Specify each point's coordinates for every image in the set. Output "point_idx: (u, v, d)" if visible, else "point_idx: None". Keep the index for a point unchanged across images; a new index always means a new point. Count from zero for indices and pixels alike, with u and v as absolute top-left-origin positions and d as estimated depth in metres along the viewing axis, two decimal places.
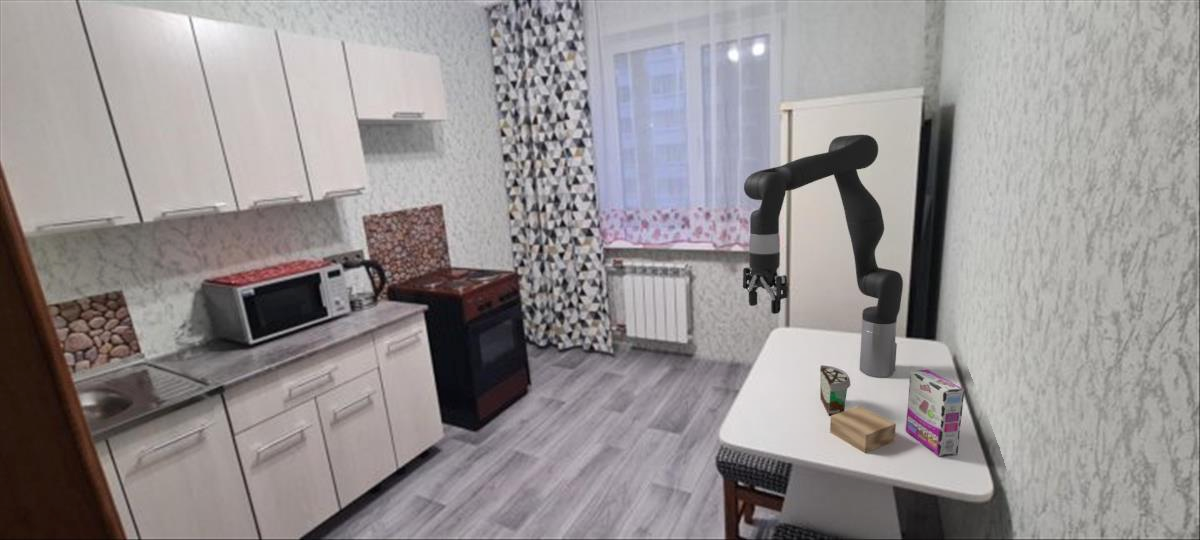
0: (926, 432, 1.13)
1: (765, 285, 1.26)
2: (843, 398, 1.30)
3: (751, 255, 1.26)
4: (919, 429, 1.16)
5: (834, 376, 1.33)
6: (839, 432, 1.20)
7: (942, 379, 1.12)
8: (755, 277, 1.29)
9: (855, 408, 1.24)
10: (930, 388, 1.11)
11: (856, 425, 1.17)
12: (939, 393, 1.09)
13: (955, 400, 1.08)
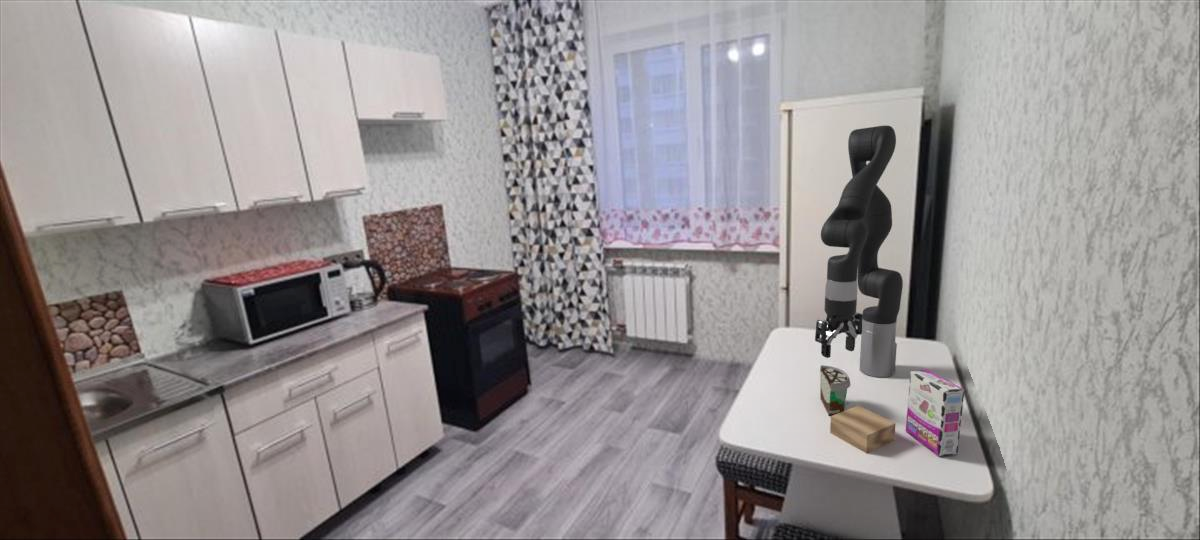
0: (926, 432, 1.13)
1: (851, 327, 1.28)
2: (843, 398, 1.30)
3: (850, 303, 1.24)
4: (919, 429, 1.16)
5: (834, 376, 1.33)
6: (840, 433, 1.20)
7: (942, 379, 1.12)
8: (842, 325, 1.26)
9: (854, 408, 1.24)
10: (930, 388, 1.11)
11: (857, 425, 1.17)
12: (939, 393, 1.09)
13: (955, 400, 1.08)
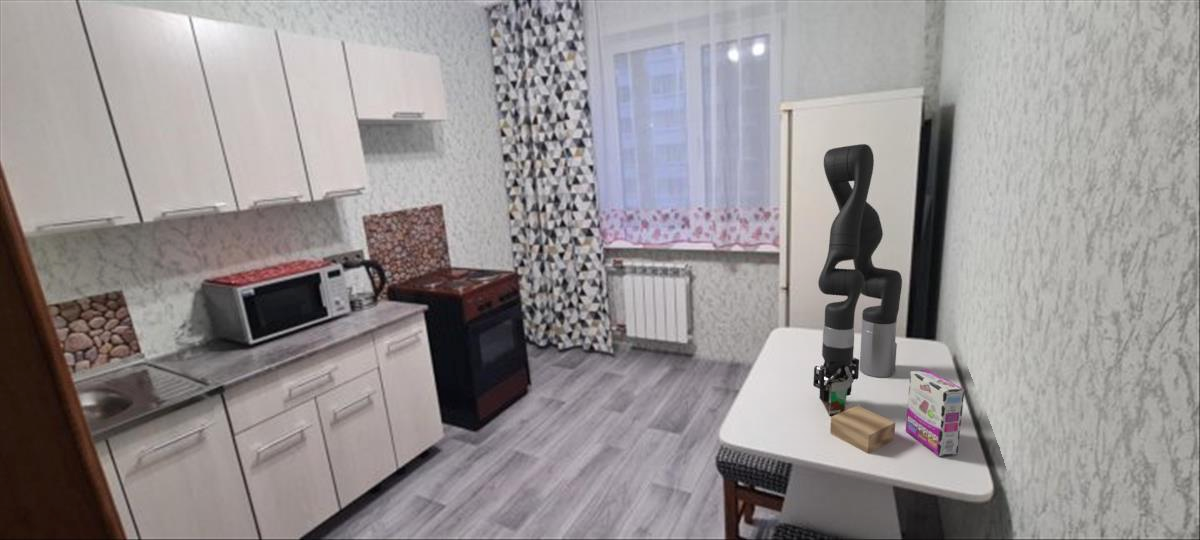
0: (926, 432, 1.13)
1: (848, 372, 1.31)
2: (844, 398, 1.30)
3: (847, 350, 1.26)
4: (919, 429, 1.16)
5: None
6: (840, 433, 1.20)
7: (942, 379, 1.12)
8: (839, 370, 1.29)
9: (853, 408, 1.24)
10: (930, 388, 1.11)
11: (858, 425, 1.17)
12: (939, 393, 1.09)
13: (955, 400, 1.08)
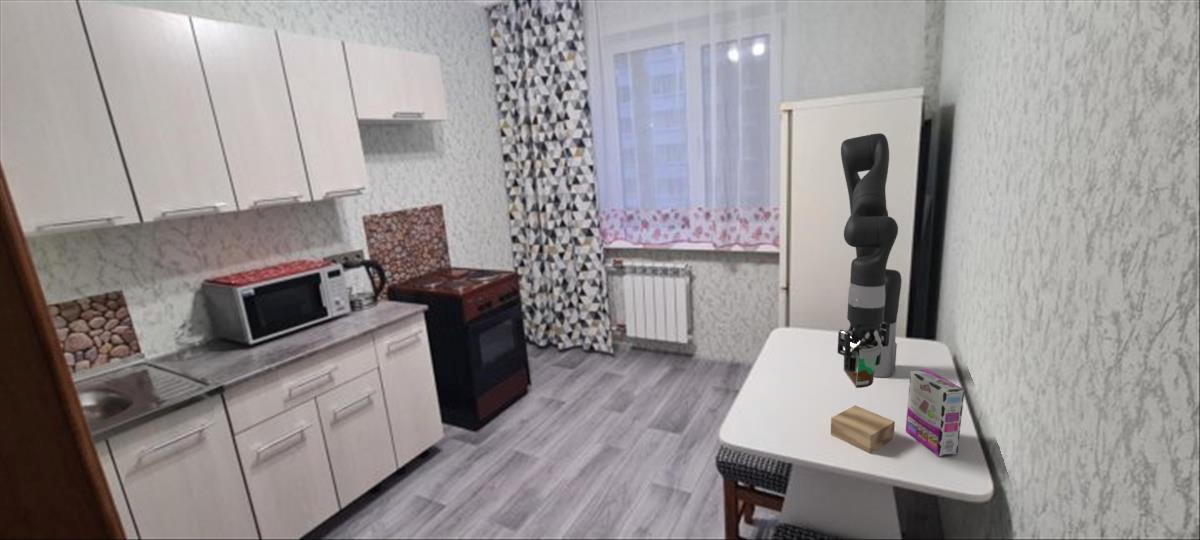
0: (926, 432, 1.13)
1: (877, 338, 1.14)
2: (873, 367, 1.13)
3: (878, 310, 1.10)
4: (919, 429, 1.16)
5: None
6: (841, 434, 1.19)
7: (942, 379, 1.12)
8: (868, 335, 1.12)
9: (852, 408, 1.24)
10: (930, 388, 1.11)
11: (859, 426, 1.17)
12: (939, 393, 1.09)
13: (955, 400, 1.08)
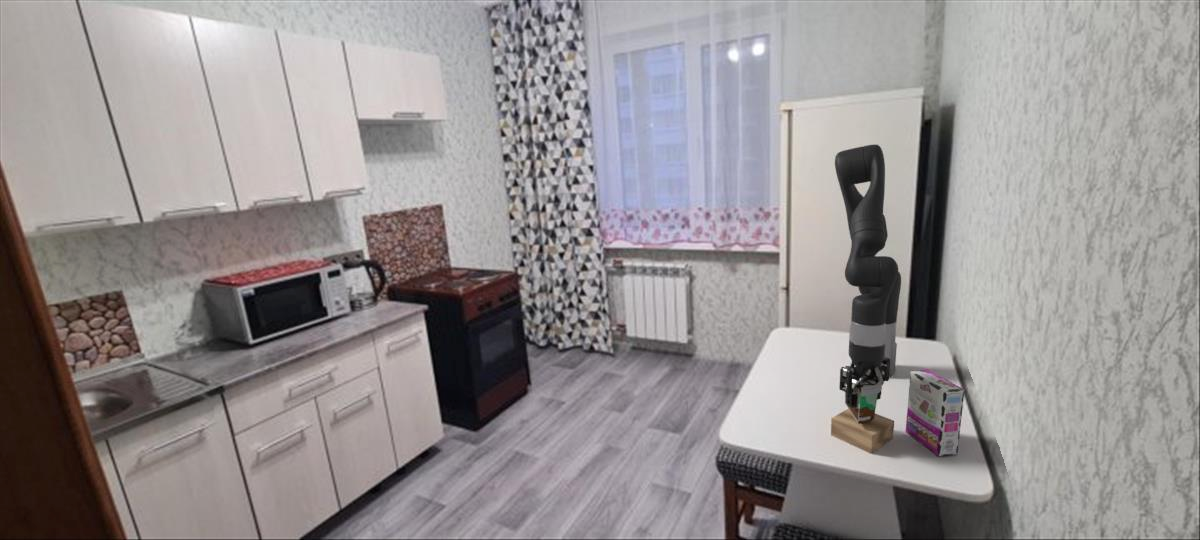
0: (926, 432, 1.13)
1: (878, 374, 1.16)
2: (874, 403, 1.15)
3: (879, 348, 1.11)
4: (919, 429, 1.16)
5: None
6: (842, 435, 1.19)
7: (942, 379, 1.12)
8: (869, 371, 1.14)
9: None
10: (930, 388, 1.11)
11: (859, 426, 1.16)
12: (939, 393, 1.09)
13: (955, 400, 1.08)
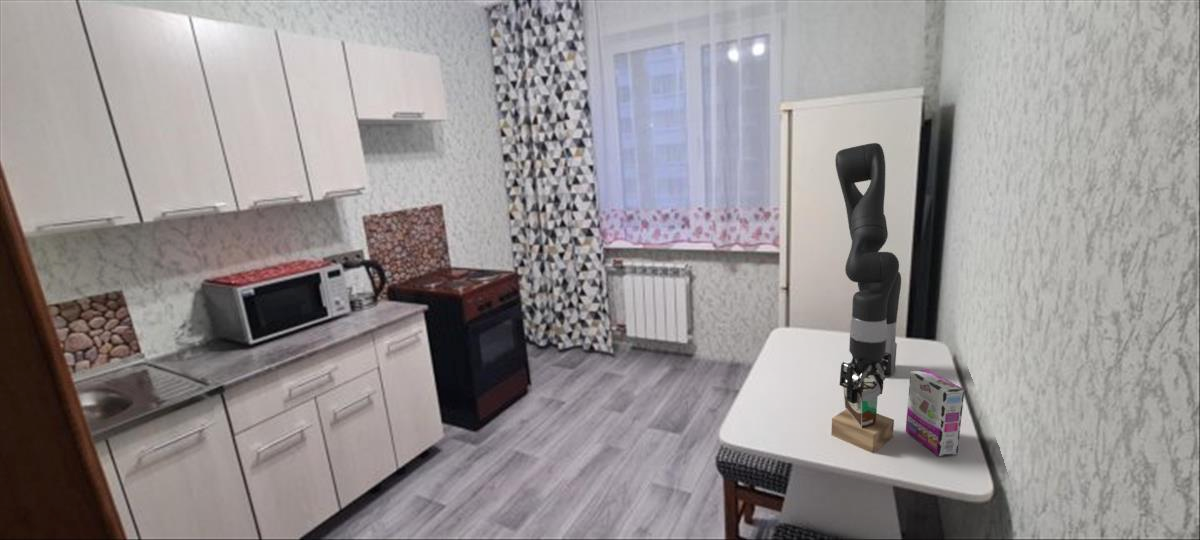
0: (926, 432, 1.13)
1: (879, 369, 1.16)
2: (875, 406, 1.15)
3: (880, 344, 1.11)
4: (919, 429, 1.16)
5: None
6: (842, 434, 1.19)
7: (942, 379, 1.12)
8: (870, 367, 1.14)
9: None
10: (930, 388, 1.11)
11: None
12: (939, 393, 1.09)
13: (955, 400, 1.08)
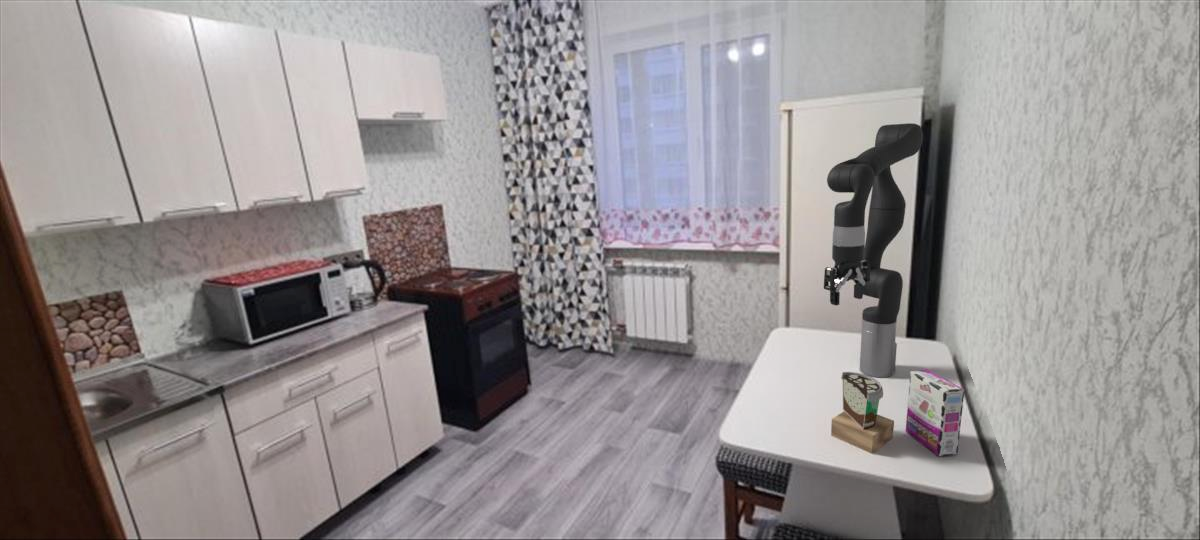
0: (926, 432, 1.13)
1: (859, 274, 1.28)
2: (877, 407, 1.15)
3: (859, 248, 1.23)
4: (919, 429, 1.16)
5: (863, 383, 1.18)
6: (842, 435, 1.19)
7: (942, 379, 1.12)
8: (850, 271, 1.26)
9: None
10: (930, 388, 1.11)
11: None
12: (939, 393, 1.09)
13: (955, 400, 1.08)
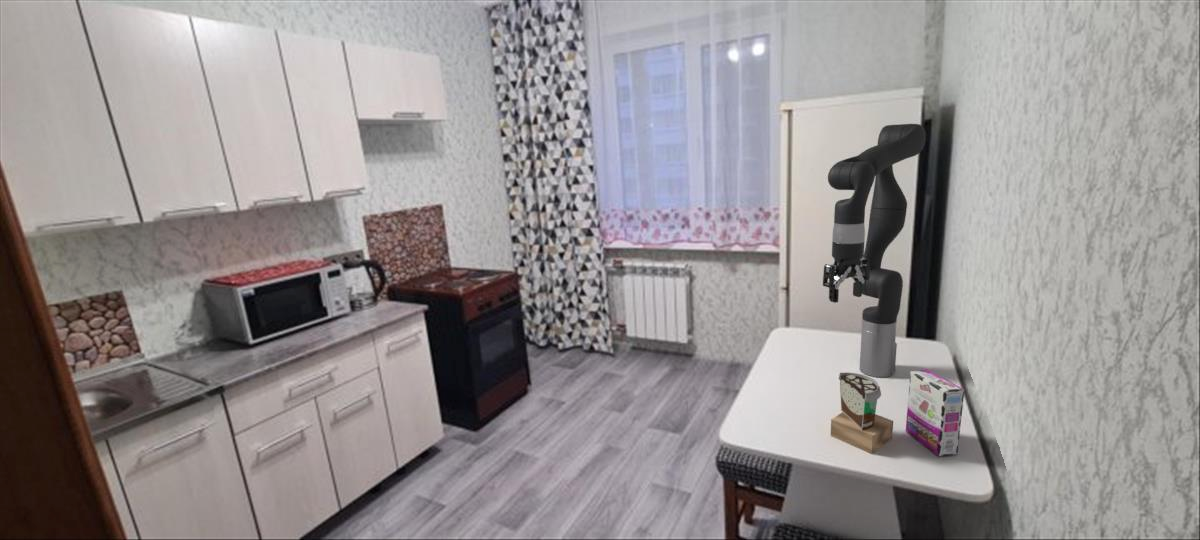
0: (926, 432, 1.13)
1: (858, 272, 1.28)
2: (875, 408, 1.15)
3: (858, 245, 1.24)
4: (919, 429, 1.16)
5: (860, 383, 1.18)
6: (841, 436, 1.19)
7: (942, 379, 1.12)
8: (850, 269, 1.26)
9: None
10: (930, 388, 1.11)
11: None
12: (939, 393, 1.09)
13: (955, 400, 1.08)
